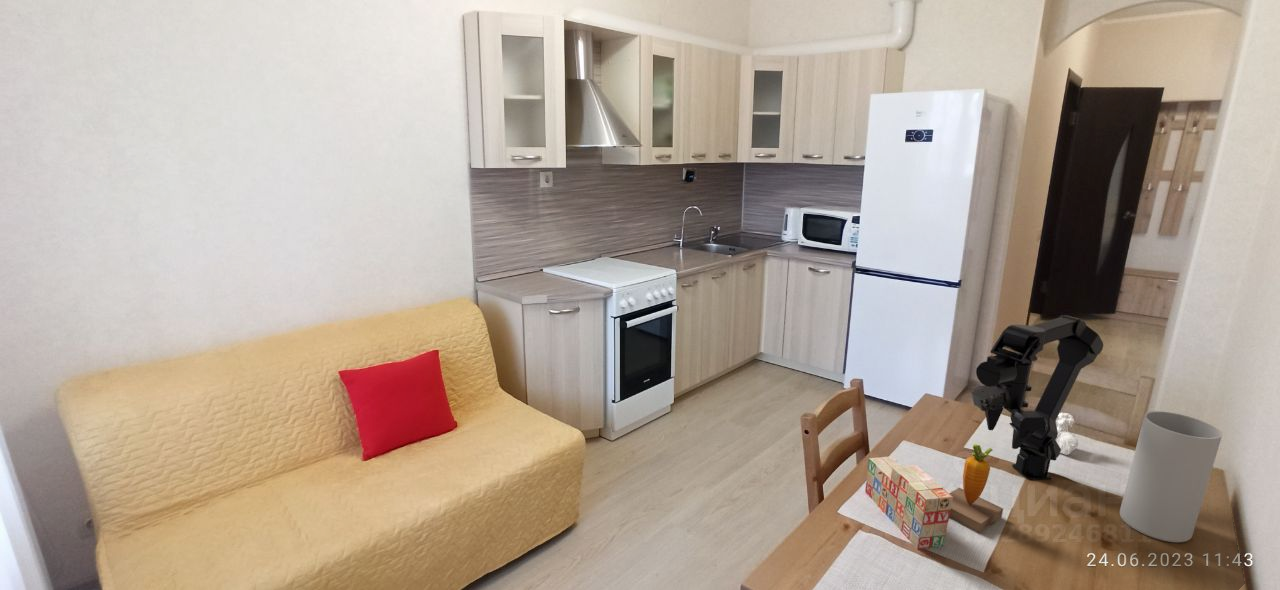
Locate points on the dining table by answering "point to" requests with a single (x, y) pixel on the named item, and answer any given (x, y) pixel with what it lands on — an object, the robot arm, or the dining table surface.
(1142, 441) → the cylinder vase
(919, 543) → the stack of blocks
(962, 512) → the walnut plinth
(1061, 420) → the bust
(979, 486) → the carrot
